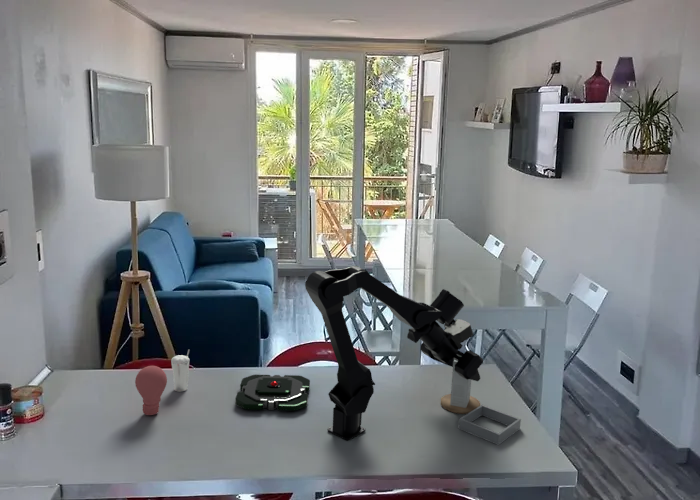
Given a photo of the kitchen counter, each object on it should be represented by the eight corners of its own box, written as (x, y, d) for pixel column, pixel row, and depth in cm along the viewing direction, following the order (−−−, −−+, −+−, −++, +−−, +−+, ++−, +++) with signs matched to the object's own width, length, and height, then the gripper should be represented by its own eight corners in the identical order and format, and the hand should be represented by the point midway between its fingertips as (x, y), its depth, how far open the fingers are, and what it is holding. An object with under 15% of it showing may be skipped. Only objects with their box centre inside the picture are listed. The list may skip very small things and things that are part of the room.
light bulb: (173, 414, 151) (172, 367, 148) (146, 424, 146) (144, 375, 143) (157, 404, 155) (156, 358, 153) (130, 413, 150) (129, 366, 148)
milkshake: (196, 387, 166) (195, 351, 163) (180, 394, 161) (179, 357, 159) (183, 382, 168) (183, 347, 166) (168, 389, 163) (167, 353, 161)
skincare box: (453, 395, 165) (457, 352, 162) (470, 398, 163) (473, 355, 161) (449, 405, 159) (452, 361, 156) (466, 408, 158) (470, 363, 155)
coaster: (466, 418, 155) (467, 415, 154) (432, 404, 161) (433, 401, 161) (487, 405, 162) (487, 402, 162) (454, 392, 168) (454, 390, 168)
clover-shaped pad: (310, 384, 171) (310, 368, 170) (307, 415, 154) (307, 398, 153) (243, 382, 171) (243, 366, 170) (233, 413, 153) (233, 396, 152)
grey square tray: (498, 444, 142) (499, 434, 142) (458, 428, 149) (459, 418, 149) (519, 428, 150) (520, 419, 150) (481, 413, 157) (481, 404, 156)
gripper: (480, 323, 146) (511, 361, 154) (432, 301, 162) (463, 336, 170) (450, 361, 144) (483, 397, 152) (405, 334, 160) (437, 368, 168)
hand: (467, 372), depth 160 cm, fingers open, 9 cm apart
